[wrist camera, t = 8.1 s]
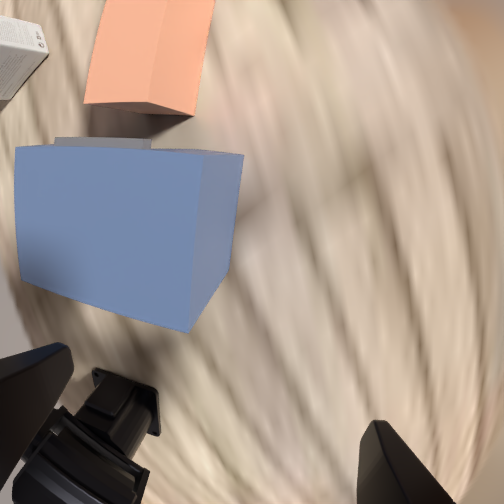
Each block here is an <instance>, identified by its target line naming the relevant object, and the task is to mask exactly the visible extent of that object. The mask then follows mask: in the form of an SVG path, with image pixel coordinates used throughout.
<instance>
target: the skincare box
mask: <svg viewBox="0 0 504 504" xmlns="http://www.w3.org/2000/svg"><path fill="white" fill-rule="evenodd" d="M48 54H49V51H48V47H47V43H46V40H45V37H44V34H43V31H42V28H41V26H40V25H38V24H34V23H30V22H26V21H23V20H19V19H15V18H10V17H6V16H2V15H0V100H10V99H11V98H12V97H13V95H14V94H15V93H16V91H17V90H18V89H19V88H20V86H21V85H22V84H23V83H24V81H25V80H26V79H27V78H28V77H29V75H30V74H31V73H32V72H33V71H34V70H35V68H36V67H37V66H38V65H39V64H40V63H41V62H42V61H43V59H44V58H45V57H46V56H47V55H48Z"/></svg>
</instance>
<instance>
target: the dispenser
mask: <svg viewBox="0 0 504 504" xmlns="http://www.w3.org/2000/svg"><path fill="white" fill-rule="evenodd" d="M151 141H152V139H137V138H111V137H55V142H54V144H50V145H35V146H22V147H16V148H15V170H14V202H15V225H16V239H17V250H18V259H19V267H20V275H21V280H22V281H25V282H27V283H30V284H32V285H35V286H38V287H40V288H43V289H46V290H48V291H51V292H54V293H56V294H59V295H62V296H65V297H68V298H71V299H73V300H76V301H79V302H82V303H85V304H88V305H91V306H94V307H97V308H100V309H104V310H107V311H110V312H113V313H116V314H120V315H123V316H126V317H130V318H133V319H136V320H140V321H143V322H147V323H151V324H154V325H158V326H161V327H165V328H169V329H173V330H176V331H180V332H184V333H189V332H190V330H191V328H192V327H193V325H194V324H195V322H196V321H197V319H198V317H199V316H200V314H201V313H202V311H203V310H204V308H205V306H206V305H207V303H208V302H209V300H210V299H211V297H212V296H213V294H214V292H215V291H216V289H217V288H218V286H219V285H220V283H221V282H222V280H223V278H224V277H225V275H226V274H227V272H228V271H229V265H230V257H231V249H232V241H233V233H234V225H235V218H236V210H237V203H238V195H239V188H240V180H241V173H242V166H243V159H244V155H241V154H233V153H225V152H216V151H208V150H198V149H151Z"/></svg>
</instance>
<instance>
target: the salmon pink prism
mask: <svg viewBox="0 0 504 504" xmlns="http://www.w3.org/2000/svg"><path fill="white" fill-rule="evenodd" d="M214 4H215V0H106V3H105V7H104V10H103V13H102V17H101V21H100V24H99V28H98V32H97V36H96V40H95V45H94V49H93V54H92V58H91V63H90V68H89V74H88V79H87V85H86V91H85V98H84V104H88V105H95V106H102V107H108V108H114V109H120V110H125V111H131V112H136V113H141V114H168V115H188V116H194V115H195V108H196V102H197V95H198V89H199V83H200V77H201V71H202V65H203V59H204V54H205V48H206V43H207V38H208V33H209V28H210V23H211V18H212V13H213V9H214Z"/></svg>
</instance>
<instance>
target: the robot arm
mask: <svg viewBox="0 0 504 504" xmlns="http://www.w3.org/2000/svg"><path fill="white" fill-rule="evenodd" d="M73 371H74V364H73V360H72V355H71V350H70V348H69V347H68V346H67V345H64V344H62V343H59V342H57V343H53V344H50V345H47V346H43V347H40V348H36V349H33V350H30V351H26V352H23V353H20V354H16V355H13V356H9V357H6V358H2V359H0V491H1V489H2V488H3V486H4V484H5V483H6V481H7V479H8V478H9V476H10V474H11V473H12V471H13V469H14V468H15V466H16V465H17V463H18V461H19V460H20V459H21V460H23V461H24V462H25V465H24V467H23V468H22V469H21V470H20V472H19V473H18V474H17V476H16V477H15V478H14V480H13V487H12V501H13V502H14V504H141V500H142V497H143V494H144V490H145V487H146V484H147V480H148V477H149V474H150V471H149V470H147V469H146V468H143V467H141V466H139V465H138V464H136V463H135V462H133V461H132V458H133V456H134V455H135V453H136V451H137V449H138V447H139V446H140V444H141V442H142V440H143V439H144V437H145V435H146V433H148V434H150V435H153V436H160V434H161V425H160V412H159V397H158V392H157V390H155V389H154V388H151V387H148V386H145V385H142V384H139V383H136V382H133V381H131V380H128V379H125V378H122V377H119V376H117V375H114V374H111V373H109V372H106V371H104V370H101V369H98V368H95V369H94V370H93V371H92V376H93V381H94V385H95V389H94V391H93V392H92V393H91V394H90V395H89V397H88V398H87V399H86V400H85V402H84V404H83V406H82V407H81V408H80V409H79V411H78V412H77V413H76V414H75V415H74V416H73V415H72V414H71V413H69V412H68V411H67V409H66V408H65V407H64V406H63V405H62V406H61V407H60V408H59V409H54V406H55V405H56V403H57V401H58V399H59V397H60V396H61V394H62V392H63V390H64V388H65V386H66V385H67V383H68V381H69V379H70V377H71V376H72V374H73ZM53 432H54V433H56V434H57V435H58V436H57V435H56V434H54V433H53ZM357 504H456V503H455V502H453V499H452V498H451V497H450V496H449V495H448V493H447V492H446V491H445V490H444V489H443V487H442V486H441V485H440V484H439V483H438V481H437V480H436V479H435V478H434V477H433V475H432V474H431V473H430V472H429V471H428V469H427V468H426V467H425V466H424V465H423V464H422V462H421V461H420V460H419V459H418V458H417V456H416V455H415V454H414V453H413V452H412V450H411V449H410V448H409V447H408V446H407V444H406V443H405V442H404V441H403V440H402V438H401V437H400V436H399V435H398V434H397V432H396V431H395V430H394V429H393V428H392V426H391V425H390V424H389V423H388V422H387V421H385V420H373V421H371V423H370V424H369V426H368V428H367V429H366V431H365V433H364V435H363V436H362V438H361V441H360V450H359V465H358V478H357Z"/></svg>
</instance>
